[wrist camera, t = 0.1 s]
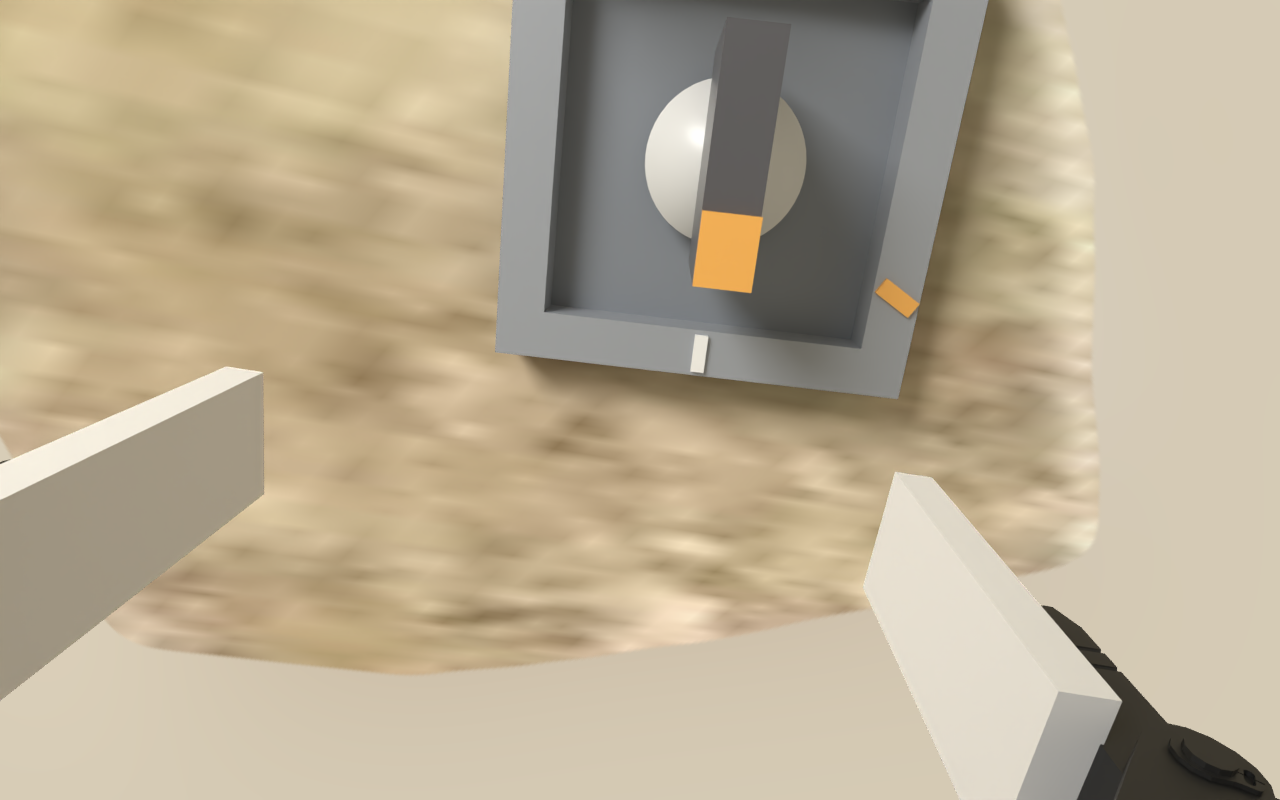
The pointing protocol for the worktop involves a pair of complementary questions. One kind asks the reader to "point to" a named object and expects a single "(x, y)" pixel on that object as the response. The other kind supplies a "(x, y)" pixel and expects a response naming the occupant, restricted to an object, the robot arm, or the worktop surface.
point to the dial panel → (787, 254)
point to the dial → (729, 155)
